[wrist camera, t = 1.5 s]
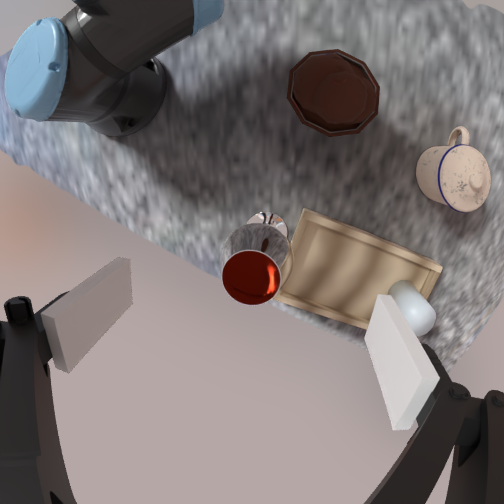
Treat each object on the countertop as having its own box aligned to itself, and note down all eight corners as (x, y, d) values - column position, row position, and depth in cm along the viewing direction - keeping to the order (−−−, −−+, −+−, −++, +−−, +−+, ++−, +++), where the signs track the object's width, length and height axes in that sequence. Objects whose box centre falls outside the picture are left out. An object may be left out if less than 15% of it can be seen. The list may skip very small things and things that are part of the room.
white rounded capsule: (382, 303, 46) (398, 332, 37) (395, 275, 44) (415, 301, 36) (406, 311, 46) (424, 340, 37) (419, 285, 44) (441, 310, 36)
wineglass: (286, 263, 47) (283, 324, 30) (234, 252, 47) (203, 306, 30) (298, 212, 44) (303, 247, 27) (244, 200, 45) (215, 228, 28)
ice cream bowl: (376, 105, 38) (414, 85, 24) (326, 156, 41) (344, 155, 27) (323, 56, 37) (336, 14, 23) (272, 106, 40) (263, 81, 26)
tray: (272, 290, 49) (270, 298, 46) (303, 207, 44) (304, 211, 41) (398, 331, 48) (403, 340, 45) (435, 261, 44) (442, 267, 41)
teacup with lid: (454, 208, 41) (494, 224, 30) (408, 194, 41) (442, 207, 30) (467, 137, 37) (509, 137, 26) (421, 119, 38) (458, 111, 27)
